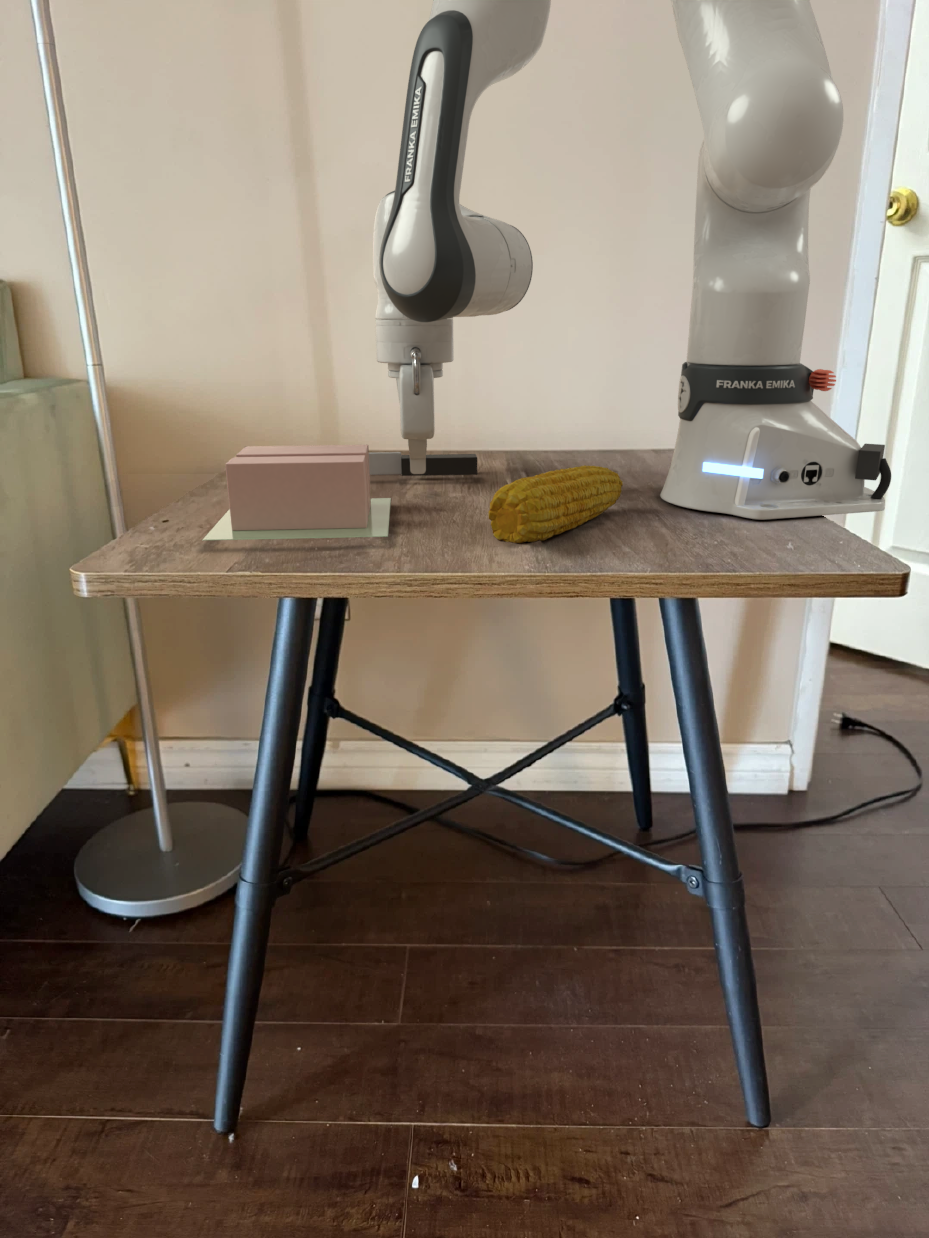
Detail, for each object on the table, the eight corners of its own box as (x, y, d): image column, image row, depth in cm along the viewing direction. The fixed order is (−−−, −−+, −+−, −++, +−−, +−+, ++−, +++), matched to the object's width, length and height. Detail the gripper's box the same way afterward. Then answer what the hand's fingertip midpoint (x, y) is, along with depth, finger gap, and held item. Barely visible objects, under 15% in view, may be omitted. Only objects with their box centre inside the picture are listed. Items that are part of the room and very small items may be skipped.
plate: (391, 507, 90) (391, 497, 90) (388, 547, 75) (388, 536, 75) (237, 510, 89) (236, 500, 89) (202, 551, 74) (201, 540, 74)
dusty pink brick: (368, 519, 81) (365, 455, 79) (366, 528, 77) (363, 461, 75) (238, 521, 80) (232, 457, 78) (231, 530, 77) (225, 463, 75)
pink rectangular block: (371, 504, 87) (368, 444, 85) (369, 515, 82) (366, 452, 80) (250, 506, 86) (245, 446, 84) (241, 518, 81) (235, 454, 79)
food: (536, 559, 71) (537, 488, 69) (477, 550, 74) (477, 481, 72) (632, 510, 88) (635, 452, 86) (581, 504, 91) (584, 447, 89)
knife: (475, 478, 105) (475, 449, 104) (477, 482, 103) (477, 453, 101) (285, 481, 104) (283, 452, 102) (282, 485, 101) (280, 456, 100)
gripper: (446, 350, 88) (448, 483, 93) (439, 342, 108) (440, 453, 112) (385, 350, 88) (389, 484, 93) (388, 343, 107) (392, 454, 112)
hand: (417, 467), depth 103 cm, fingers open, 6 cm apart
